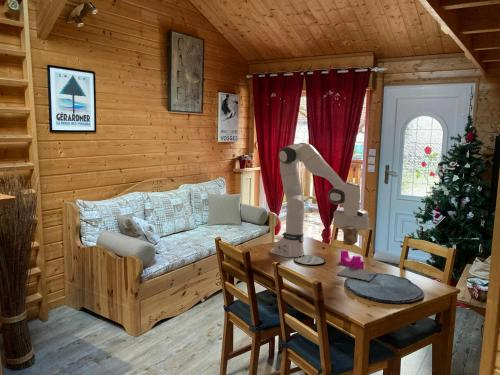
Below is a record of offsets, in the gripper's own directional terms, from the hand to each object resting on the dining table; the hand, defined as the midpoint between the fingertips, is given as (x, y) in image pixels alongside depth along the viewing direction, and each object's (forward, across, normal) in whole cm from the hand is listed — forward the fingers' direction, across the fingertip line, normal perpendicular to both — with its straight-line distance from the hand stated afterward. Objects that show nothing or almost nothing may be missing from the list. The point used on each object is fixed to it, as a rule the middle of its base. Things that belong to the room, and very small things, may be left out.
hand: (350, 235), depth 230 cm
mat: (+22, +5, 0) cm, 22 cm away
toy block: (+22, -4, +15) cm, 27 cm away
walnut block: (+4, 0, 0) cm, 4 cm away
